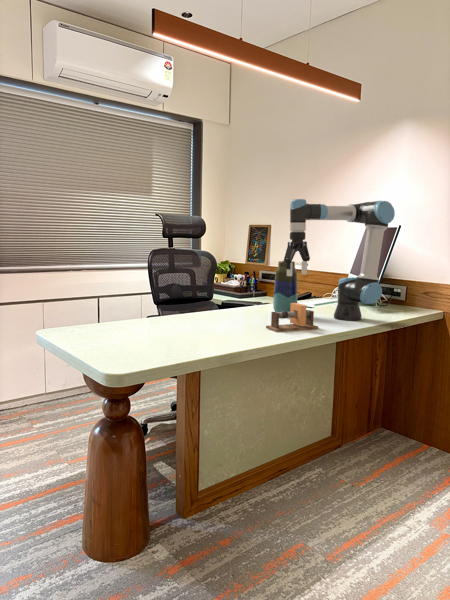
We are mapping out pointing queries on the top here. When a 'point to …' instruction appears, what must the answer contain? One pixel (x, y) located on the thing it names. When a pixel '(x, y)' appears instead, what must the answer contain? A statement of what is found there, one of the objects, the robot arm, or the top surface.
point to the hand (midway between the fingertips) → (296, 275)
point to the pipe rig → (290, 327)
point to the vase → (284, 288)
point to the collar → (298, 314)
